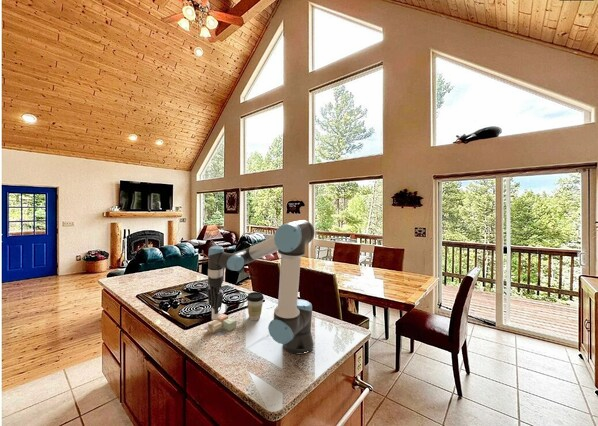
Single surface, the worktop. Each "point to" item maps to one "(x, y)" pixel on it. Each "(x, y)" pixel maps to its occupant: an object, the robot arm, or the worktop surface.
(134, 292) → the worktop surface
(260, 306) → the coffee cup
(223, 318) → the terracotta block
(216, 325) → the birch block
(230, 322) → the sage block
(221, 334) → the square tile
